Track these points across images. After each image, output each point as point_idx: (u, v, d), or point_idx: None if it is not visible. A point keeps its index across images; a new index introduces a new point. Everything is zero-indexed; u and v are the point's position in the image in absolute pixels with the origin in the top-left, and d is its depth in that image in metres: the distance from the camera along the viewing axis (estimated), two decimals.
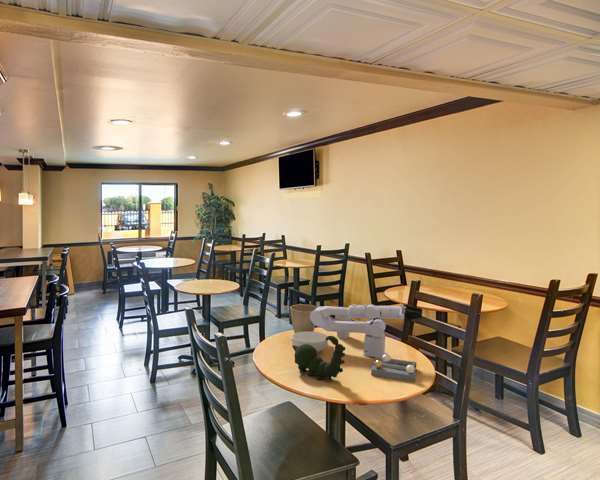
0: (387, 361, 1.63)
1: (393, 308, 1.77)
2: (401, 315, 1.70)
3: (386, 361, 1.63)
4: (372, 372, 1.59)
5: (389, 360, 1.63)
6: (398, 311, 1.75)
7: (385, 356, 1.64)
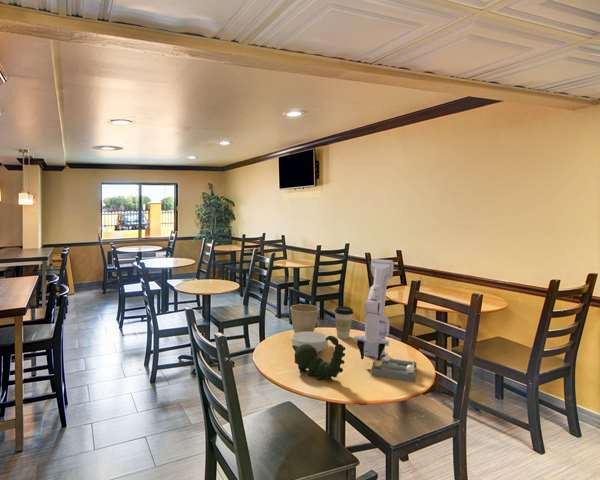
0: (386, 361, 1.63)
1: (366, 332, 1.64)
2: None
3: (385, 361, 1.63)
4: (372, 372, 1.59)
5: (388, 359, 1.63)
6: (365, 336, 1.66)
7: (383, 356, 1.64)
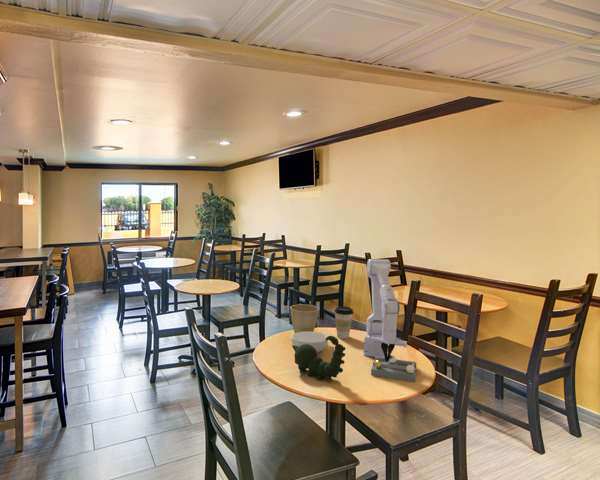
0: (390, 363, 1.62)
1: (384, 333, 1.62)
2: (370, 339, 1.65)
3: (390, 363, 1.62)
4: (372, 372, 1.59)
5: (392, 364, 1.62)
6: (382, 337, 1.63)
7: (394, 360, 1.62)
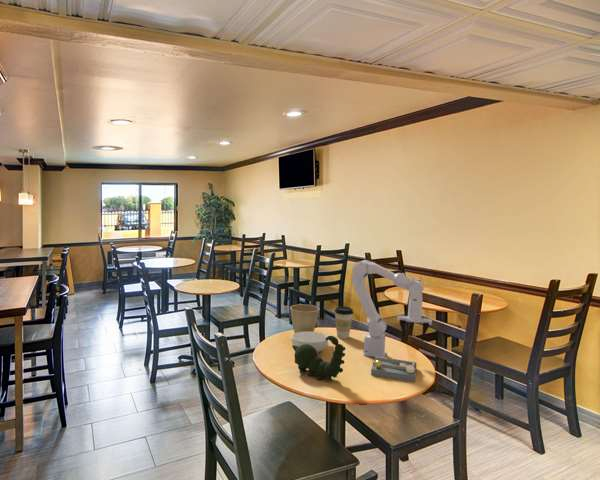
0: None
1: (410, 312, 1.72)
2: (397, 318, 1.76)
3: None
4: (372, 372, 1.59)
5: None
6: (408, 316, 1.73)
7: None
